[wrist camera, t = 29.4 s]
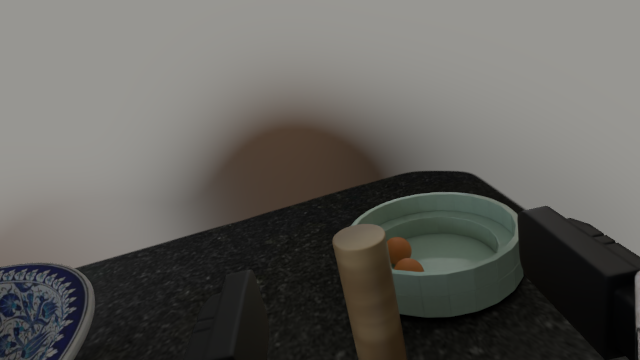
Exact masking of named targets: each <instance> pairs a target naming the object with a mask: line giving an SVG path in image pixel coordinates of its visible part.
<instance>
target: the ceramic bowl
mask: <svg viewBox="0 0 640 360" xmlns="http://www.w3.org/2000/svg"><path fill="white" fill-rule="evenodd" d="M94 309H95V298H94V290H93V288H92V285H91V283H90V282H89V280H88V279H87V278H86V276H85V275H83V274H82V273H81V272H79V271H78V270H76V269H74V268H72V267H69V266H65V265H62V264H54V263H27V264H18V265H11V266H5V267H0V360H74V359H75V357H76V355H77V354H78V352H79V350H80V348H81V346H82V344H83V343H84V341H85V338H86V336H87V333H88V331H89V329H90V326H91V323H92V319H93V315H94Z"/></svg>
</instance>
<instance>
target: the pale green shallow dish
mask: <svg viewBox="0 0 640 360" xmlns="http://www.w3.org/2000/svg"><path fill="white" fill-rule="evenodd" d="M517 218H518V215H517V213H515V212H514V211H513V210H512V209H510V208H509V207H508V206H507V205H505V204H502V203H500V202H498V201H496V200H493V199H491V198H487V197H483V196H479V195H474V194H466V193H457V192H435V193H426V194H417V195H412V196H407V197H402V198H398V199H395V200H392V201H389V202H386V203H383V204H381V205H379V206H377V207H375V208H373V209H371V210H369V211H367V212H366V213H364V214H363V215H362V216H360V217H359V218H357V219H356V220H355V222H354V223H353V224H352V225H351V226H353V225H358V224H373V225H377V226H380V227H381V228H383V229H384V231H385V233H386V239H387V241H388V240H389V239H391V238H393V237H401V238H404V239H405V240H407V241H408V242H409V244H410V246H411V249H412V254H411V257H410V258H411V259H414V260H416V261H418V262H419V263H420V264H421V265H422V267H423V269H424V272H414V271H403V270H395V269H394V267H395V265H394V264H392V263H391V268H392V274H393V279H394V285H395V291H396V297H397V303H398V309H399V314H403V315H410V316H417V317H425V318H431V317H451V316H452V317H453V316H458V315H463V314H468V313H473V312H477V311H480V310H482V309H485V308H487V307H490V306H492V305H494V304H497V303H499V302H500V301H502V300H503V299H504V298H505V297H507V296H508V295H509V294H511V293H512V292H513V291H514V290H515V289H516V288H517V286H518V284H519V283H520V281H521V280H522V278H523V275H524V271H523V269H522V266H521V263H520V257H519V240H518V223H517Z"/></svg>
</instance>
